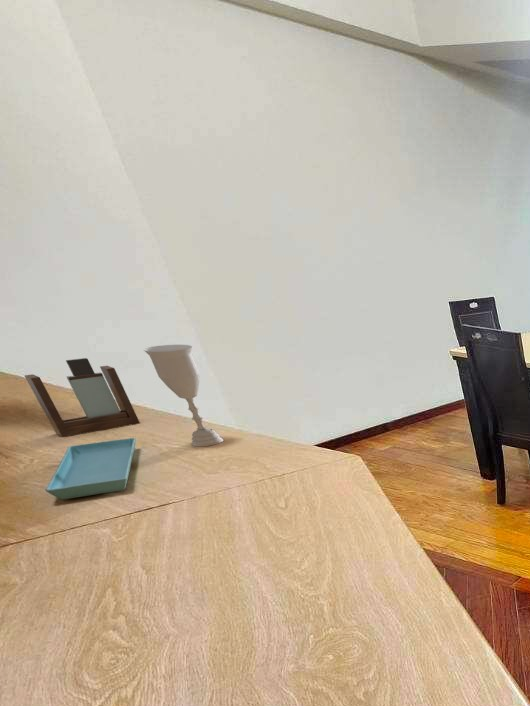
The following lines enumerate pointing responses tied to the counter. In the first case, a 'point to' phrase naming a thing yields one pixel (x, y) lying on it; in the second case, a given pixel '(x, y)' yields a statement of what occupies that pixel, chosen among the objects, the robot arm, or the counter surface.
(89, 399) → the window pane
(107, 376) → the window frame
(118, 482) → the shallow long dish
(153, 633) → the counter surface
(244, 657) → the counter surface
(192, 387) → the chalice
